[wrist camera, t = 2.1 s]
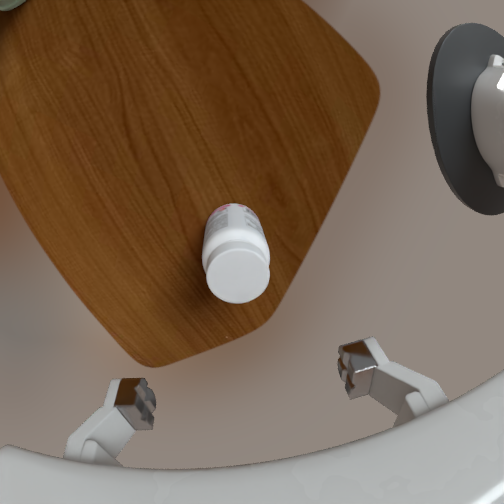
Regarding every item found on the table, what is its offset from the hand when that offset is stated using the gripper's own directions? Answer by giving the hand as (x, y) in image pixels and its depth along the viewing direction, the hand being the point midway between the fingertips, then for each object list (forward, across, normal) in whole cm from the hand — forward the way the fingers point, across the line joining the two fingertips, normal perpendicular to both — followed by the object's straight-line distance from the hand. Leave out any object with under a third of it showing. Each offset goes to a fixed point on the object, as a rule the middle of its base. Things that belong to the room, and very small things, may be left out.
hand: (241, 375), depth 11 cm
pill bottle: (+16, 0, 0) cm, 17 cm away
